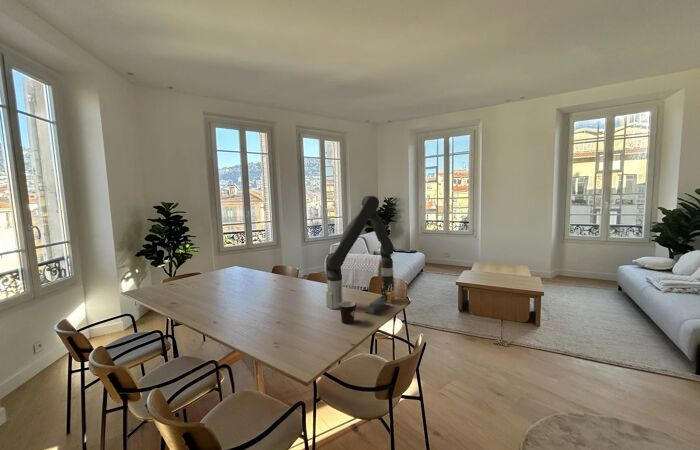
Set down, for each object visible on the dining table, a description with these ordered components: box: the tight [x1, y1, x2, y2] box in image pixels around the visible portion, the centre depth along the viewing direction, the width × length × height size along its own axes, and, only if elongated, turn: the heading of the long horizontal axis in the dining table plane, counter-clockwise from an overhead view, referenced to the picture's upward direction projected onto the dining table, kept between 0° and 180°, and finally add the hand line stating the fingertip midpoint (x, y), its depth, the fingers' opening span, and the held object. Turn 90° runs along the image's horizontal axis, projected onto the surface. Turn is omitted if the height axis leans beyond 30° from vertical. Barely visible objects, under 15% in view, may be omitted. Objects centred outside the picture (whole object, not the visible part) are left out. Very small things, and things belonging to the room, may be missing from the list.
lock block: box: [380, 291, 396, 304], centre depth 197 cm, size 7×6×5 cm
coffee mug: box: [339, 300, 357, 325], centre depth 166 cm, size 12×9×10 cm
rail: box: [364, 295, 392, 316], centre depth 182 cm, size 16×9×6 cm, turn 148°
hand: (387, 299), depth 197 cm, fingers closed on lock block, 6 cm apart
